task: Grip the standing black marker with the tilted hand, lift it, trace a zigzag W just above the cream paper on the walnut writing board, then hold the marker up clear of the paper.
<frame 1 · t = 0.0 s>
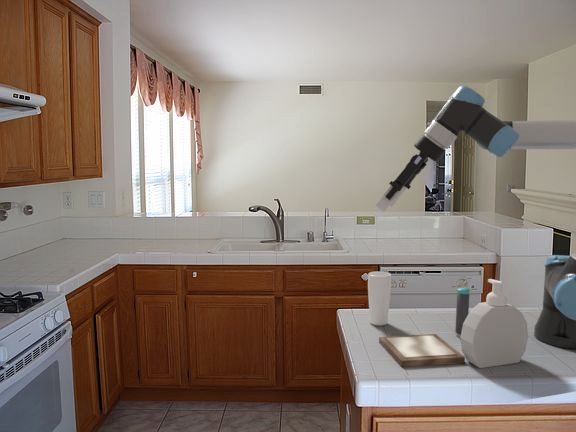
hand: (384, 206, 139), 36 cm above the worktop, tool tilted 35°, fingers open, 13 cm apart
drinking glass: (378, 323, 153), on the worktop
marker: (461, 336, 142), on the worktop
soap bottle: (492, 362, 125), on the worktop
writing board: (419, 352, 131), on the worktop
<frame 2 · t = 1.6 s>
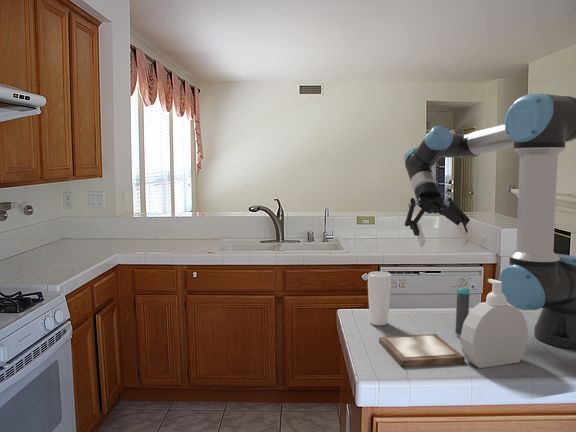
hand: (444, 243, 152), 24 cm above the worktop, tool tilted 45°, fingers open, 13 cm apart
nothing on the worktop moved.
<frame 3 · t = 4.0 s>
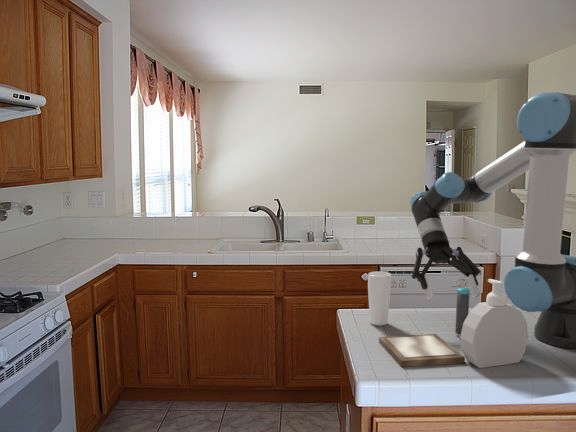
hand: (454, 297, 144), 10 cm above the worktop, tool tilted 45°, fingers open, 13 cm apart
nothing on the worktop moved.
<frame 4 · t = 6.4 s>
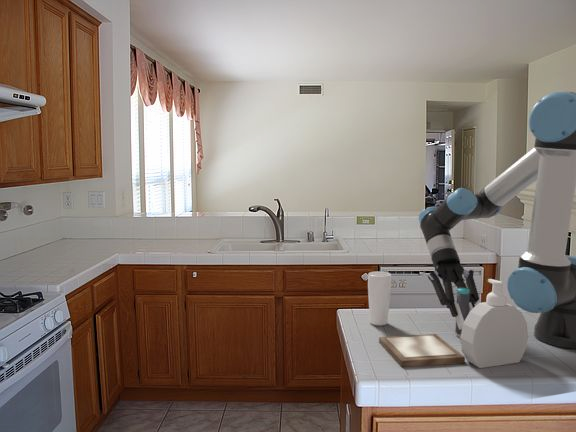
hand: (468, 326, 138), 4 cm above the worktop, tool tilted 45°, fingers closed on marker, 3 cm apart
marker: (461, 336, 142), on the worktop, touching gripper
everything else where it was.
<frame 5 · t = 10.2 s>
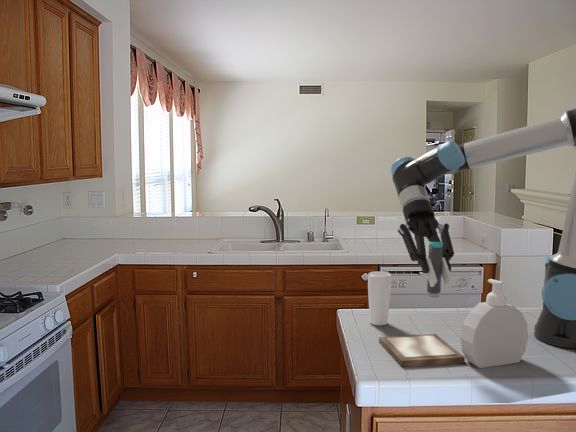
hand: (441, 283, 122), 19 cm above the worktop, tool tilted 45°, fingers closed on marker, 3 cm apart
marker: (433, 296, 127), point 15 cm above the worktop, touching gripper
everything else where it was.
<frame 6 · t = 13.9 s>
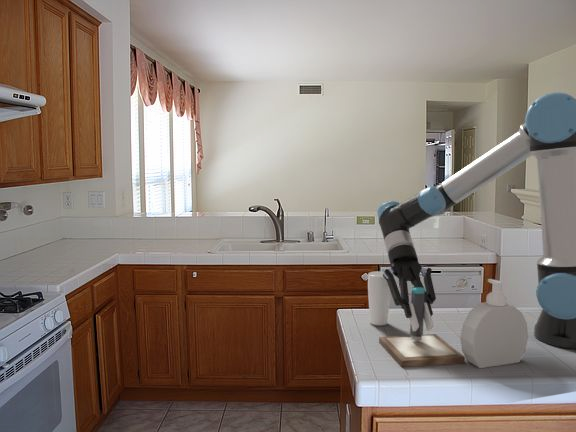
hand: (423, 328, 129), 7 cm above the worktop, tool tilted 45°, fingers closed on marker, 3 cm apart
marker: (416, 338, 133), point 2 cm above the worktop, touching gripper
everything else where it was.
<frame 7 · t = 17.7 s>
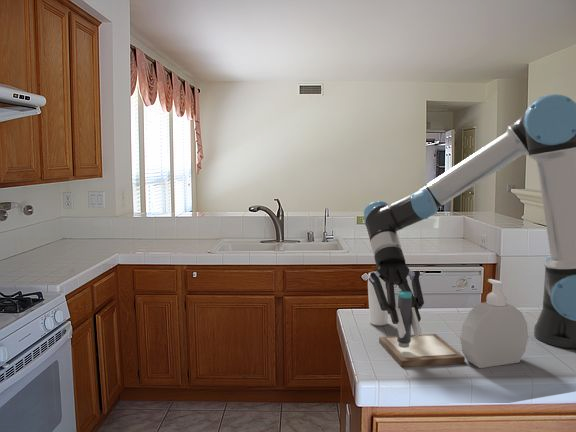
hand: (410, 334, 122), 7 cm above the worktop, tool tilted 45°, fingers closed on marker, 3 cm apart
marker: (403, 345, 126), point 3 cm above the worktop, touching gripper
everything else where it was.
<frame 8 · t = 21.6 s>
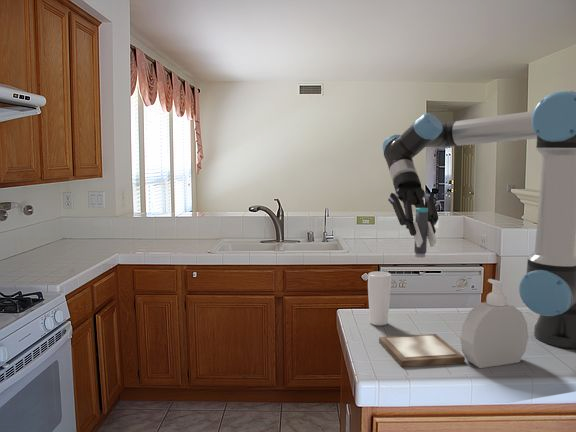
hand: (426, 244, 137), 26 cm above the worktop, tool tilted 45°, fingers closed on marker, 3 cm apart
marker: (420, 256, 142), point 22 cm above the worktop, touching gripper
everything else where it was.
at the end: the gripper is holding marker; marker moved 24.9 cm from its start; marker tilted 0° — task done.
